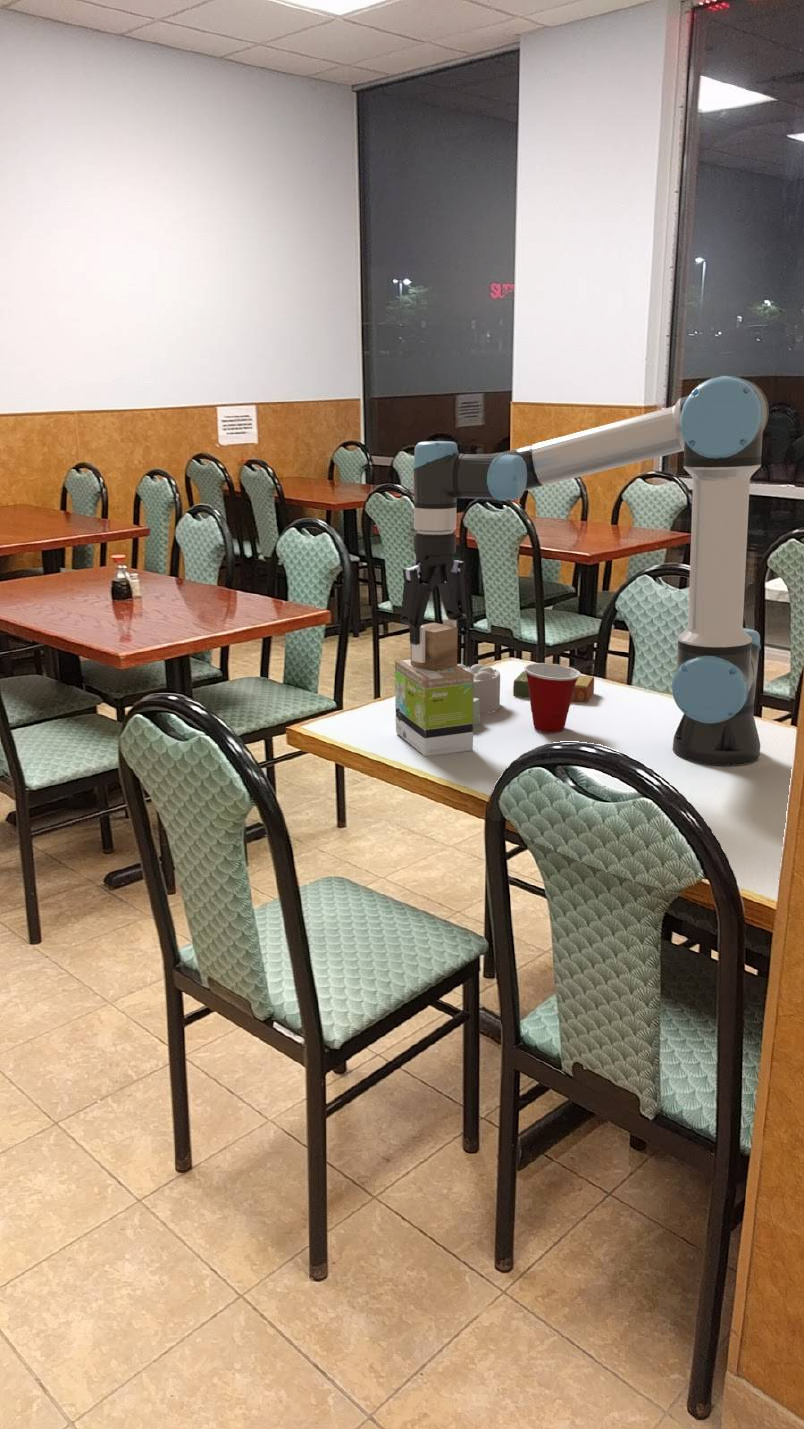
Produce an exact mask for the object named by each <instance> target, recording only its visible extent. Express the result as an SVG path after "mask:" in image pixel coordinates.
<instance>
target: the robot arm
mask: <svg viewBox="0 0 804 1429" xmlns="http://www.w3.org/2000/svg"><path fill="white" fill-rule="evenodd" d="M769 410H770V409H769V402H768V399H767V396H766V395H765V393H764V392H763V390H762V389H761V388H760V387H759V386H758V385H757V384H756V383H754V382H753V381H751V380H749V379H745V378H743V377H738V376H735V375H729V376H728V375H722V376H717V377H716V376H714V377H712V378H709V379H707V380H705V381H703V382H701V383H700V384H698V385H697V386H696V387H695V388H694V389H693V390H692V391H691V392H690V394H689V395H687V396H684V397H680V398H678V400H677V401H676V403H675V405H673V406H669V407H666V408H661V409H659V410H655V411H652V412H648V413H644V414H640V415H637V416H632V417H630V418H625V419H622V420H618V421H614V422H611V423H608V424H603V425H599V426H597V427H593V428H589V429H586V430H581V431H578V432H574V433H571V434H567V435H563V436H559V437H554V438H553V439H549V440H545V441H540V442H537V443H534V444H529V445H525V446H522V447H519V448H515V449H514V448H513V449H511V450H506V451H503V452H501V451H500V452H494V453H479V454H478V453H475V454H473V453H471V454H470V453H469V454H468V453H461V452H459V450H458V443H456V442H455V441H443V440H437V441H436V440H435V441H434V440H429V441H428V440H426V441H420V442H418V443H417V444H416V445H415V447H414V455H413V456H414V457H413V467H412V471H413V529H414V530H415V531H416V532H414V534H413V552H414V554H415V555H416V561H415V564H414V566H411V567H404V568H403V569H402V576H403V590H402V600H401V610H400V620H399V621H400V623H401V624H405V625H407V626H408V627H409V644H410V645H411V644H412V661H416V662H420V663H425V627H424V626H421V625H423V622H424V619H425V618H424V617H425V615H426V614H425V613H426V611H427V607H428V603H429V600H430V596H431V593H432V591H433V590H434V588H435V586H436V587H437V588H438V590H439V594H440V598H441V600H442V604H443V608H444V612H445V614H446V617H444V618H443V620H442V624H443V625H448V626H453V627H458V628H459V621H463V619H464V615H466V614H467V613H468V608H467V606H468V605H467V595H466V584H465V583H466V582H465V570H466V562H465V561H463V560H457V559H456V560H455V559H454V557H453V555H454V554H456V552H457V534H456V533H455V532H454V531H455V530H457V506H458V505H457V499H474V500H475V499H478V500H492V501H493V500H494V501H500V502H502V501H512V500H513V501H514V500H519V499H521V498H522V497H523V495H524V493H525V491H527V490H533V489H536V488H541V487H543V486H548V485H551V484H555V483H560V482H564V481H568V480H571V479H575V478H579V477H583V476H587V475H591V474H595V473H596V474H597V473H600V472H605V471H608V470H611V469H615V468H619V467H624V466H628V465H631V464H637V463H640V462H644V461H648V460H652V459H656V458H660V457H664V456H670V455H672V454H676V453H680V452H683V469H684V470H685V471H686V472H687V474H689V475H690V477H691V478H692V503H691V504H692V505H691V531H690V534H691V535H690V557H689V558H690V559H689V560H690V562H689V585H688V586H689V587H688V591H689V592H688V612H687V613H688V616H687V618H688V619H687V628H686V629H685V630H684V631H682V632H681V633H680V634H679V635H678V638H677V655H676V656H677V657H676V658H677V660H676V662H677V663H676V664H677V665H676V671H675V673H674V675H673V678H672V681H671V682H672V683H671V691H672V698H673V699H674V703H675V705H676V706H677V708H678V709H679V710H680V711H681V712H682V713H683V715H682V716H681V719H680V722H679V724H678V725H677V728H676V731H675V733H674V736H673V741H672V751H673V752H674V754H676V755H677V756H679V757H680V758H683V759H685V760H688V761H691V762H696V763H700V764H704V765H713V766H740V765H742V766H743V765H747V764H751V763H753V762H755V761H757V760H759V759H760V755H761V754H760V753H761V741H760V737H759V733H758V729H757V725H756V720H755V716H754V710H755V709H754V708H755V696H756V687H757V676H758V675H757V674H758V666H759V655H760V650H761V648H762V647H761V635H760V633H759V632H758V631H757V630H755V629H751V628H745V627H744V626H743V625H744V609H745V608H744V607H745V586H746V585H745V584H746V565H747V548H748V547H747V546H748V526H749V525H748V524H749V523H748V522H749V502H750V485H751V484H750V483H751V478H752V476H753V475H754V474H755V473H756V472H757V471H758V469H760V468H761V466H762V451H763V450H762V449H763V432H764V430H765V429H766V426H767V423H768V420H769V413H770V412H769ZM457 636H459V629H458V630H457Z"/></svg>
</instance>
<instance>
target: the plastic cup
mask: <svg viewBox="0 0 804 1429" xmlns="http://www.w3.org/2000/svg"><path fill="white" fill-rule="evenodd" d="M523 669H524V670H523V671H525V672H526V675H527V682H528V687H529V696H530V698H529V704H530V711H531V715H532V716H531V717H532V722H533V723H532V724H533V728H534V729H535V730H536V731H538V732H541V733H547V734H548V733H550V734H551V733H553V734H554V733H559V732H562V731H564V729H565V726H566V722H567V717H568V713H569V711H570V706H571V698H572V694H573V690H574V687H575V684H576V682H577V679H578V678H579V677H580V676H582V673H581V672H580V671H579V670H578V669H575V668H574V667H570V666H566V665H561V664H558V663H544V662H539V663H530V664H526V665H525V666H524V667H523Z"/></svg>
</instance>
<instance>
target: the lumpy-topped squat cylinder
mask: <svg viewBox="0 0 804 1429" xmlns="http://www.w3.org/2000/svg"><path fill="white" fill-rule="evenodd" d="M457 666H459V667H461V668H463V669H464V670H466V671H468V672H469V673H471V674H473V675H474V698H478V699H480V710H479V716H482V715H487V713H488V714H491V713H494V712H497V711H498V710H499V709H500V700H501V698H500V697H501V673H500V671H499V670H497V669H494V668H492V666H485V665H483V664H480V663H478V664H477V663H476V664H473V665H471V666H466V665H465V664H463V663H457Z"/></svg>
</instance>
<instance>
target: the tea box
mask: <svg viewBox="0 0 804 1429" xmlns="http://www.w3.org/2000/svg"><path fill="white" fill-rule="evenodd" d="M394 682H395V683H394V687H395V688H394V691H395V692H394V693H395V697H394V699H395V704H394V706H395V732H396V734H398V736H400V737H402V739H403V740H404V741H406V742H407V743H409V744H410V745H411V746H412V747H413V748H414V749H416V750H417V752H419V753H420V754H421V755H422V756H423V757H426V758H427V757H434V756H435V757H436V756H441V755H442V754H443V755H447V754H449V753H450V754H455V753H456V754H457V753H463V752H469V751H474V750H473V749H474V726H473V708H474V707H473V705H474V702H473V701H474V675H473V674H471V673H469V672H468V671H466V670H464V669H463V668H461V667H459V666H457V665H455V666H451V667H447V668H443V669H439V670H435V671H433V670H429V669H425V668H421V667H417V666H413V665H411V659H405V660H394ZM443 755H442V756H443Z"/></svg>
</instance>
